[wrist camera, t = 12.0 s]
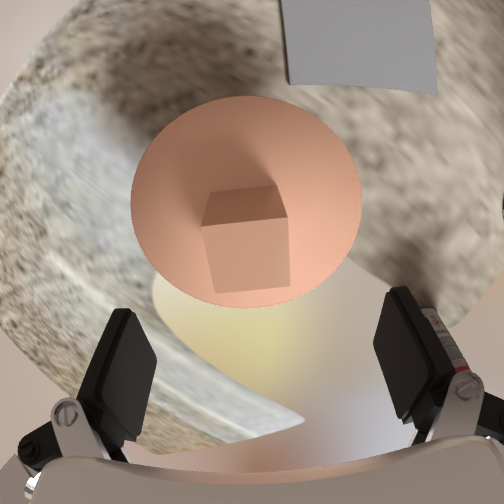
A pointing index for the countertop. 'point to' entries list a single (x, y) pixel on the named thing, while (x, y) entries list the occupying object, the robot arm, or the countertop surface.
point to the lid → (246, 202)
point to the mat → (361, 43)
